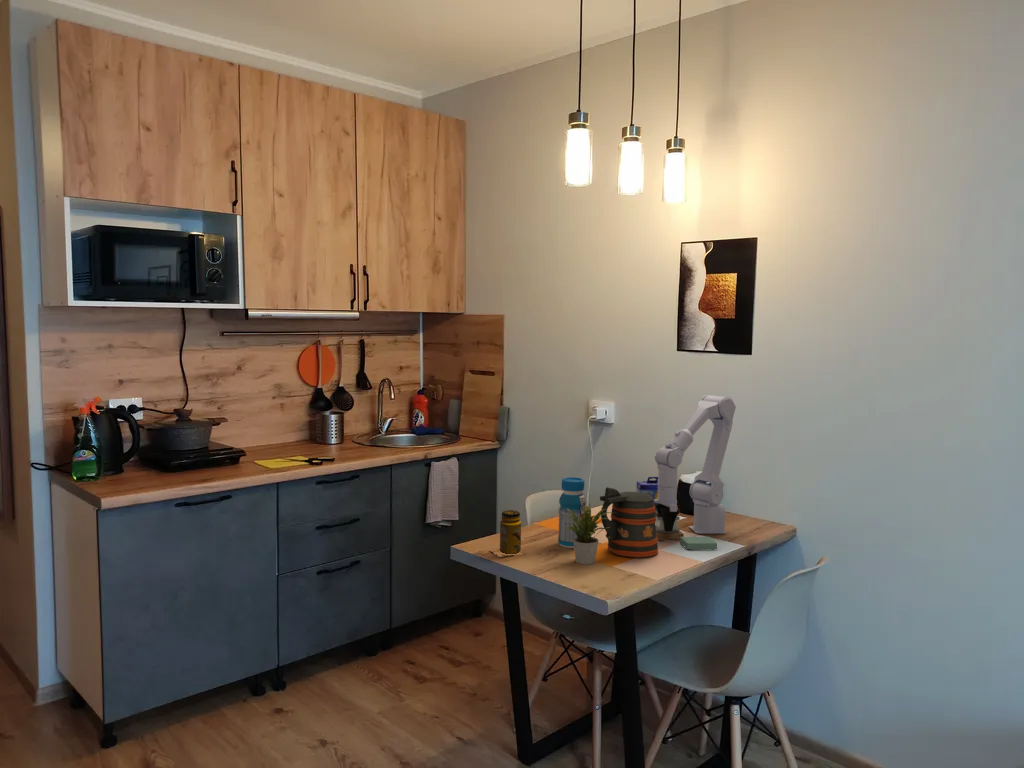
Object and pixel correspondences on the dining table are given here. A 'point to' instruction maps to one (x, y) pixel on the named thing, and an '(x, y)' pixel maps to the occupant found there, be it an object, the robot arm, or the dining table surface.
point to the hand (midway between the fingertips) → (666, 528)
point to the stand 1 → (669, 536)
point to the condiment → (510, 532)
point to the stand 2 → (698, 542)
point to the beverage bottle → (574, 502)
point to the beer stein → (630, 523)
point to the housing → (661, 525)
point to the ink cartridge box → (649, 488)
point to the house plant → (586, 535)
